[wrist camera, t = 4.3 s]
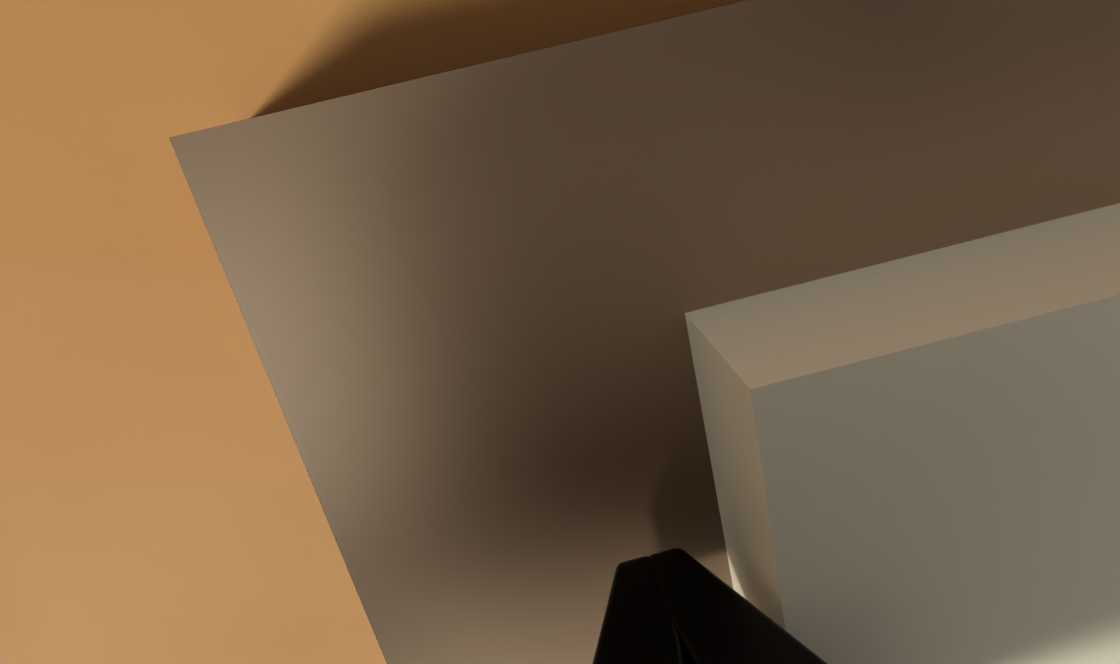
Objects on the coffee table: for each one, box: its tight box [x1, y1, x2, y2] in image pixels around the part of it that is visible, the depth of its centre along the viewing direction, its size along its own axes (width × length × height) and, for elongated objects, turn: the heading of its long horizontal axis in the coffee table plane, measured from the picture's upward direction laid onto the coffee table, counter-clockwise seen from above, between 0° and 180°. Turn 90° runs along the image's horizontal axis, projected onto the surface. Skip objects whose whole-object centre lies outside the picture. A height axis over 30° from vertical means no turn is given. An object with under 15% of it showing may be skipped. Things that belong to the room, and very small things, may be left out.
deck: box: [169, 0, 1120, 664], centre depth 10 cm, size 12×12×2 cm
